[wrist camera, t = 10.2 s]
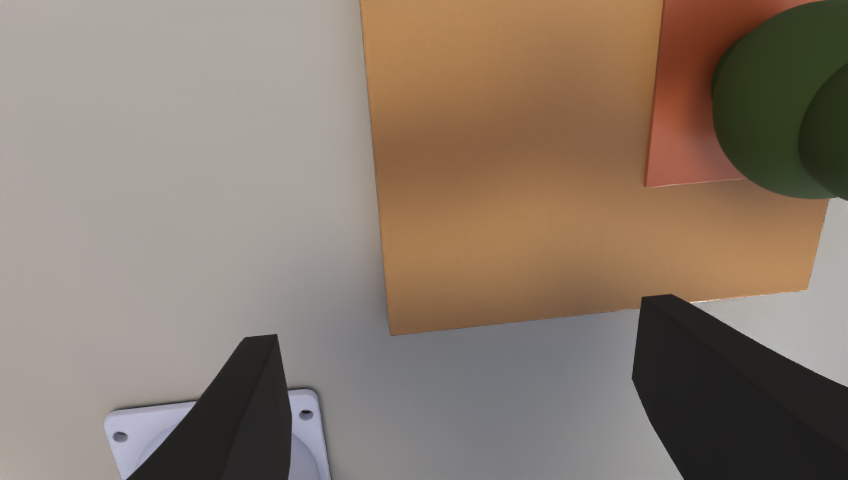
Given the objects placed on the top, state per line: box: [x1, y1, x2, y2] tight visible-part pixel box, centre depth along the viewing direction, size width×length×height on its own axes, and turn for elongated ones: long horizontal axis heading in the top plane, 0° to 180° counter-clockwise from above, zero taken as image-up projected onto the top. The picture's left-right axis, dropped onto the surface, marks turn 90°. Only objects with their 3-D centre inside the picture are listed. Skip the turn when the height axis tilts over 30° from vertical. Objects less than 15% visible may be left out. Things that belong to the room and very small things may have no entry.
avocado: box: [711, 0, 848, 201], centre depth 18 cm, size 5×5×7 cm
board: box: [359, 0, 829, 336], centre depth 22 cm, size 12×16×1 cm
